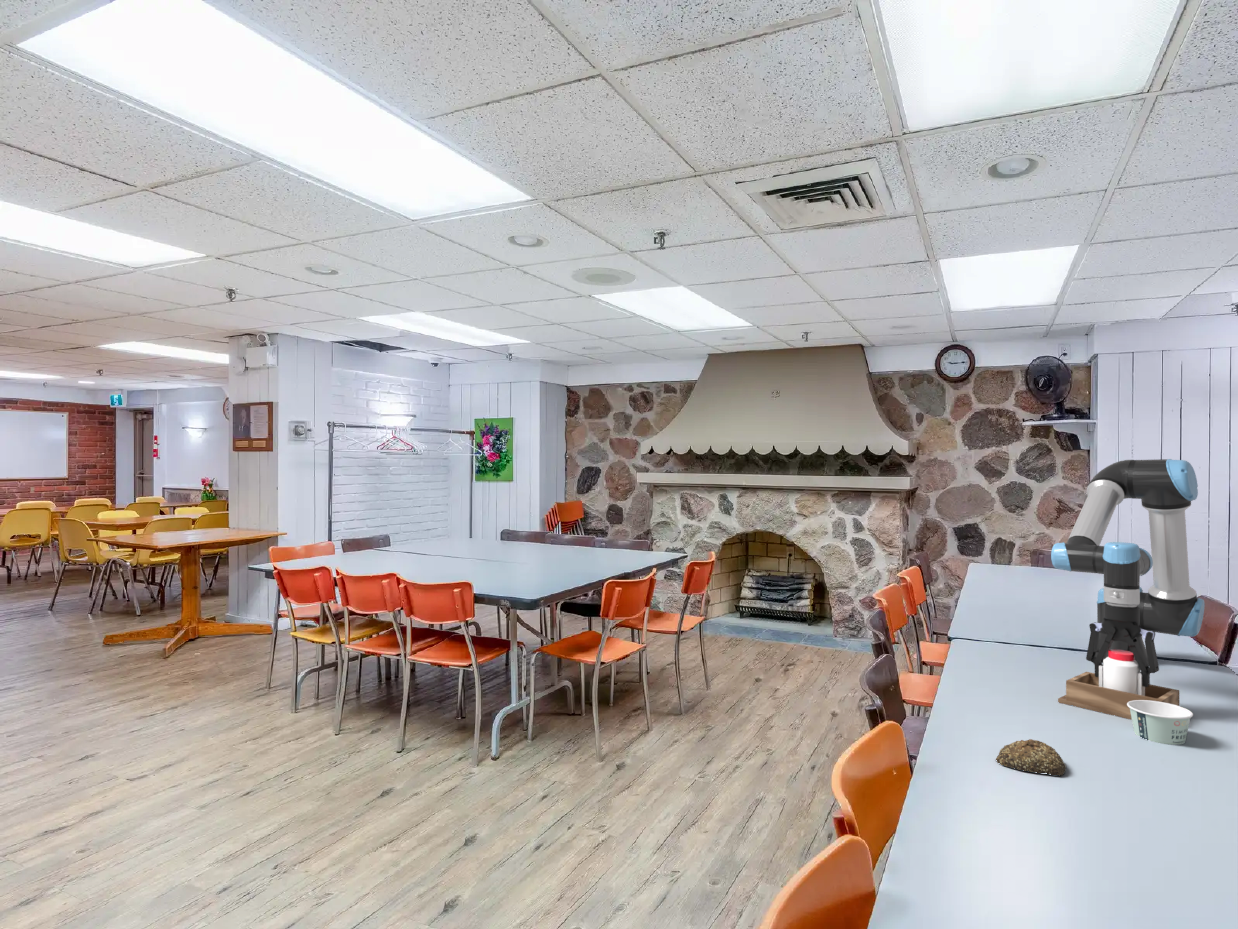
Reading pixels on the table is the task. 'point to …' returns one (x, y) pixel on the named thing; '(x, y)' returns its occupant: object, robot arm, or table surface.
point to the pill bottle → (1121, 671)
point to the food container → (1160, 721)
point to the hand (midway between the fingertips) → (1121, 694)
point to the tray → (1110, 696)
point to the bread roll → (1031, 757)
